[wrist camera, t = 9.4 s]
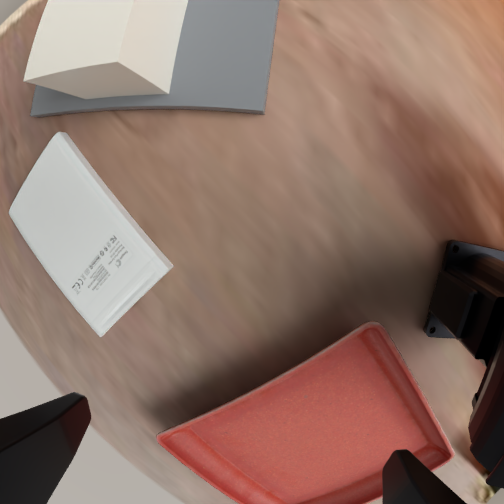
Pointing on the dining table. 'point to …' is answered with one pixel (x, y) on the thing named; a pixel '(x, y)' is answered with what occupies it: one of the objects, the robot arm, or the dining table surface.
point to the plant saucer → (316, 428)
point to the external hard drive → (85, 236)
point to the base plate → (199, 64)
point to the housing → (106, 47)
